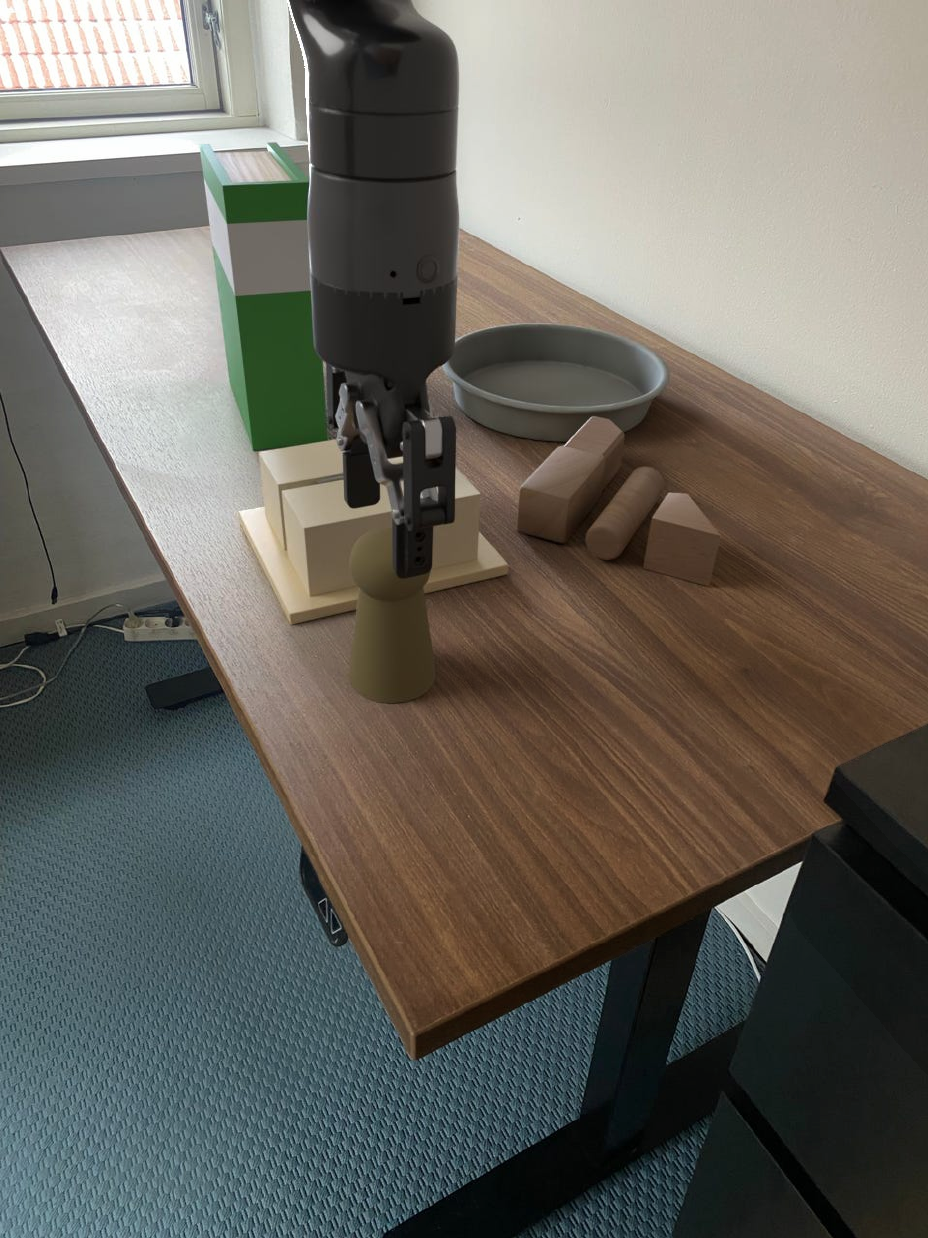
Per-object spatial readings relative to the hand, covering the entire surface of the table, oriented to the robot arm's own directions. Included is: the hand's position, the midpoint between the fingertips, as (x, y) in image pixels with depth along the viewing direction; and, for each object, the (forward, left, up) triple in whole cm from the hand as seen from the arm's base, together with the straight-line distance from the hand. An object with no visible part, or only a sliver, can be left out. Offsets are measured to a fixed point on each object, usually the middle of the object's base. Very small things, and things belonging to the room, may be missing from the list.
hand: (386, 537), depth 57 cm
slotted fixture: (+5, +17, -12) cm, 21 cm away
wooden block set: (+29, +13, -12) cm, 34 cm away
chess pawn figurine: (+1, +1, -12) cm, 12 cm away
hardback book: (+5, +46, -12) cm, 47 cm away
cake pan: (+34, +38, -12) cm, 52 cm away
